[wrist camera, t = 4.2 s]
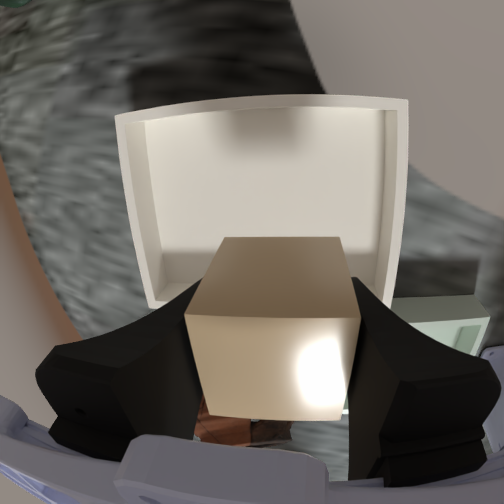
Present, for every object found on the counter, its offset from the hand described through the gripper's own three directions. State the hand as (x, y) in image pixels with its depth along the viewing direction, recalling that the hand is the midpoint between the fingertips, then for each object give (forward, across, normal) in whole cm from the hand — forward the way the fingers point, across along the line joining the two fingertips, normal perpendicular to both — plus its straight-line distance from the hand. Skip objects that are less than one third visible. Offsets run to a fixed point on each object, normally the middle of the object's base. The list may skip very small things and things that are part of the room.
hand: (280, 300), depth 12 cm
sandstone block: (+1, 0, 0) cm, 1 cm away
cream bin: (+8, +1, -2) cm, 9 cm away
